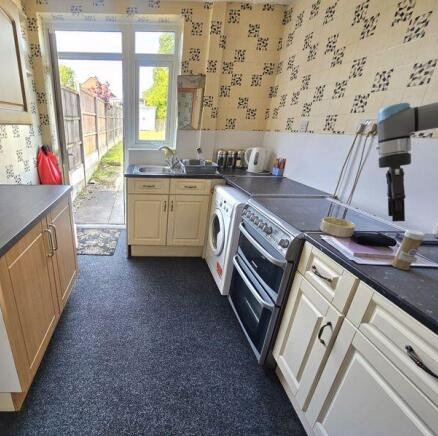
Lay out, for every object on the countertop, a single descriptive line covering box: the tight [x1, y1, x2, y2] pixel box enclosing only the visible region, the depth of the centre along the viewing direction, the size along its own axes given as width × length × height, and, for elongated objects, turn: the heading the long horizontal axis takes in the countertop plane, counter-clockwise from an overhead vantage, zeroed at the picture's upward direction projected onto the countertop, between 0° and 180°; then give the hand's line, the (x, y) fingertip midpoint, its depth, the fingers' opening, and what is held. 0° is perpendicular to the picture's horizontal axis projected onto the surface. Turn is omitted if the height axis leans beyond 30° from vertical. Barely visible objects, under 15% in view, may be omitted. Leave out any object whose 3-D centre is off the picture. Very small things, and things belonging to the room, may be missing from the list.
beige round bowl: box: [319, 216, 357, 238], centre depth 111 cm, size 12×12×5 cm
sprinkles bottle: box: [391, 229, 426, 271], centre depth 83 cm, size 5×5×13 cm
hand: (396, 218), depth 82 cm, fingers open, 13 cm apart
